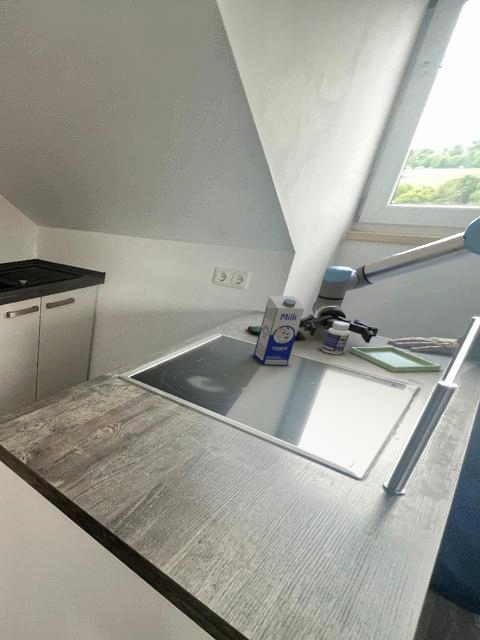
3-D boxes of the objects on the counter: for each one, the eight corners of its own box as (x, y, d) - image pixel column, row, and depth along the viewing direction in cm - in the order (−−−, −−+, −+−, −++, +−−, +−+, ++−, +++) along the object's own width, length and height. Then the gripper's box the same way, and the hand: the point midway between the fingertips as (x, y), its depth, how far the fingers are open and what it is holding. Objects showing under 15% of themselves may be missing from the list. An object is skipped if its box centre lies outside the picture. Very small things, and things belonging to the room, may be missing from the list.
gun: (254, 334, 139) (247, 325, 147) (253, 337, 139) (246, 328, 148) (307, 338, 134) (298, 328, 142) (306, 342, 134) (297, 332, 143)
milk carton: (276, 356, 124) (294, 295, 115) (287, 365, 117) (307, 301, 109) (252, 356, 125) (268, 295, 116) (262, 364, 119) (279, 301, 110)
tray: (439, 370, 112) (441, 366, 111) (392, 371, 112) (394, 367, 111) (390, 350, 126) (392, 346, 125) (349, 351, 126) (351, 347, 125)
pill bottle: (336, 355, 123) (346, 326, 119) (317, 350, 128) (327, 322, 124) (346, 352, 125) (356, 324, 121) (327, 347, 130) (337, 319, 126)
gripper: (372, 332, 133) (389, 353, 117) (284, 322, 145) (288, 340, 128) (380, 311, 130) (398, 329, 113) (290, 302, 142) (295, 318, 125)
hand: (340, 335), depth 121 cm, fingers open, 13 cm apart
